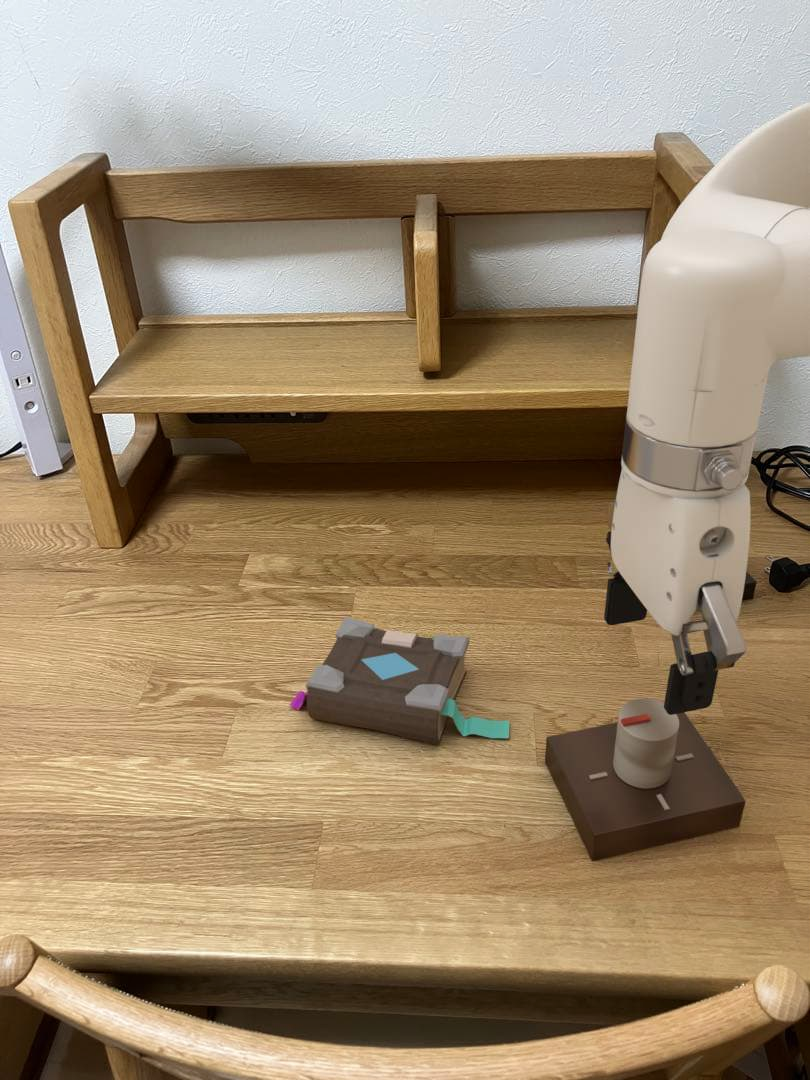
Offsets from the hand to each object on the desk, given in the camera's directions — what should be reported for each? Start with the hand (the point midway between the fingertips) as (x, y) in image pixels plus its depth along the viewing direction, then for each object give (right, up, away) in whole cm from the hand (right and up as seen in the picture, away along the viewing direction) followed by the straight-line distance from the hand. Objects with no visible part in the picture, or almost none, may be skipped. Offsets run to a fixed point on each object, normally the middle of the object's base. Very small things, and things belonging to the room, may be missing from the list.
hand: (653, 661), depth 64 cm
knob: (+1, -9, +6) cm, 11 cm away
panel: (+1, -12, +8) cm, 14 cm away
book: (-17, -6, +19) cm, 26 cm away
